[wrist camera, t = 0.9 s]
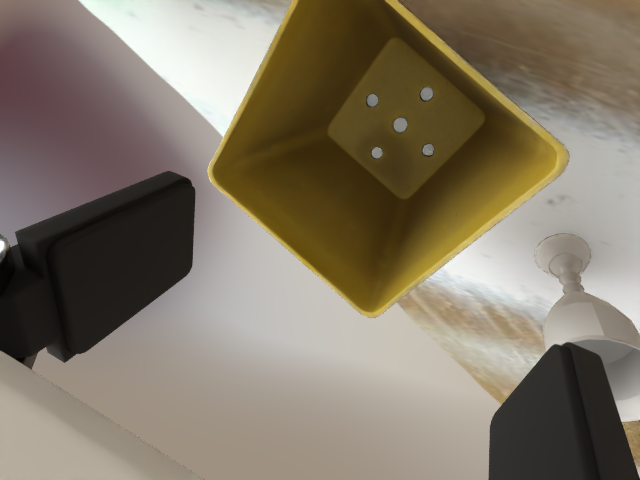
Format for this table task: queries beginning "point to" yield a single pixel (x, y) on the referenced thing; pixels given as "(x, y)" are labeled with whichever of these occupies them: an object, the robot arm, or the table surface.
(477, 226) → the flower pot
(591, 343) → the chalice
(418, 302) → the table surface
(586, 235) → the table surface
